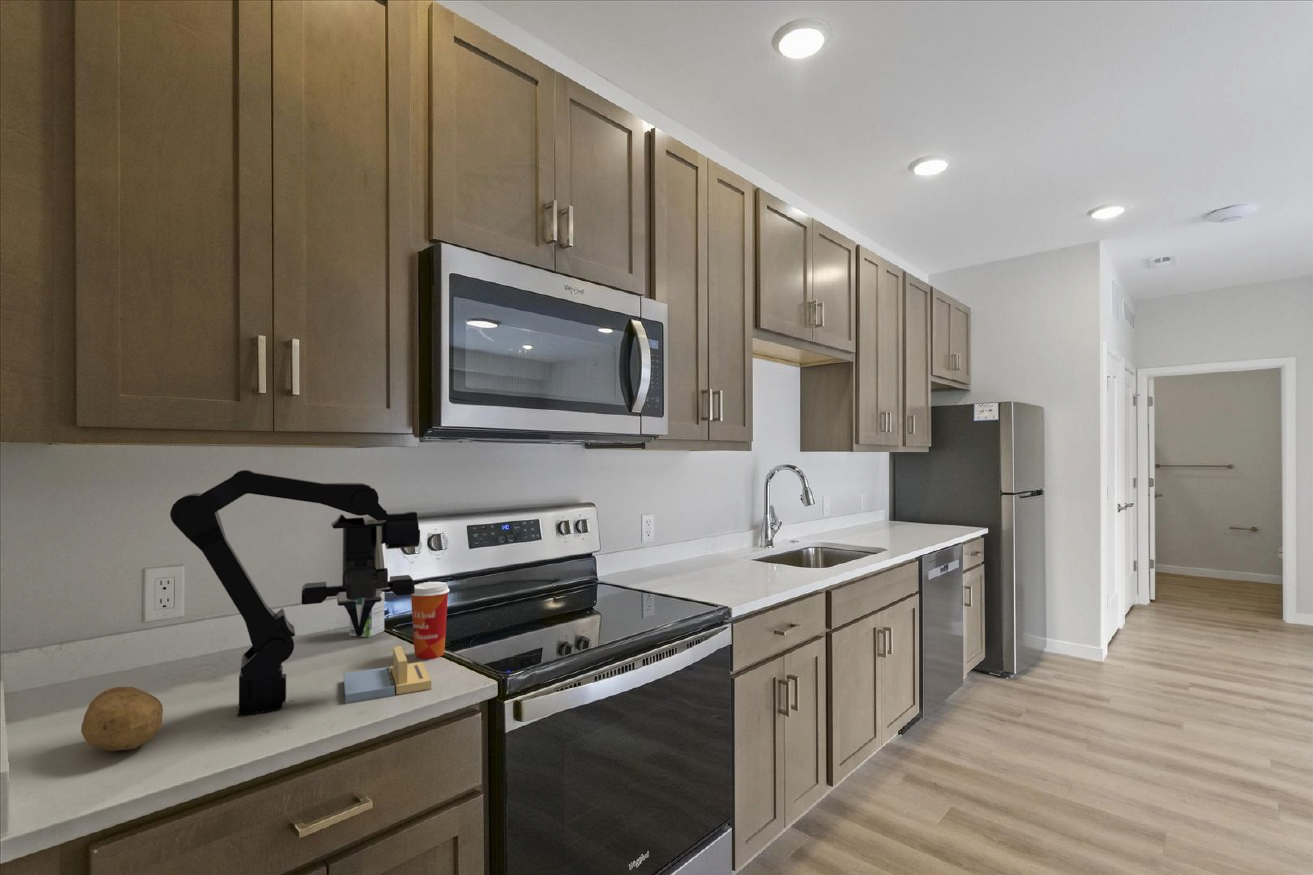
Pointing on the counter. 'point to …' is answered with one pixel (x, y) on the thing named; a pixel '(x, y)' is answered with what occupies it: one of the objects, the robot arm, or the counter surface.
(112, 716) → the potato
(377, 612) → the syrup box
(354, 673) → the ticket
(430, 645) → the coffee cup
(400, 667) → the stub
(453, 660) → the counter surface
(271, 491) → the robot arm
